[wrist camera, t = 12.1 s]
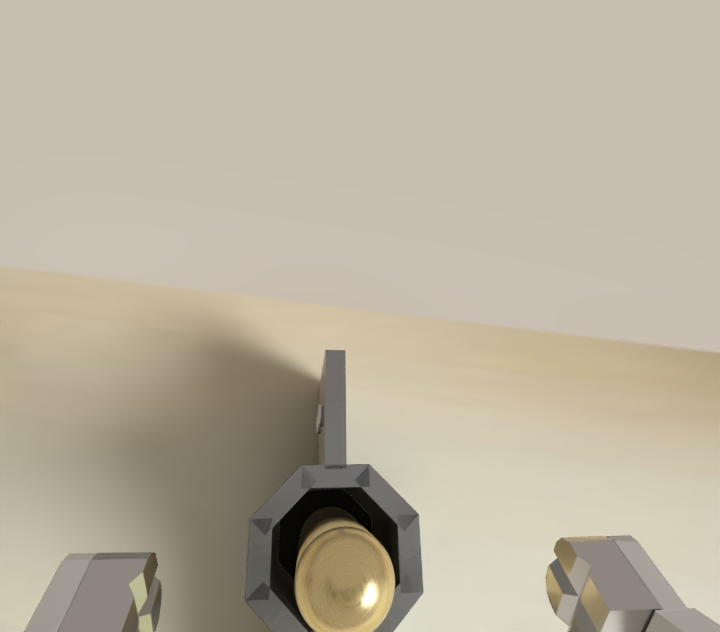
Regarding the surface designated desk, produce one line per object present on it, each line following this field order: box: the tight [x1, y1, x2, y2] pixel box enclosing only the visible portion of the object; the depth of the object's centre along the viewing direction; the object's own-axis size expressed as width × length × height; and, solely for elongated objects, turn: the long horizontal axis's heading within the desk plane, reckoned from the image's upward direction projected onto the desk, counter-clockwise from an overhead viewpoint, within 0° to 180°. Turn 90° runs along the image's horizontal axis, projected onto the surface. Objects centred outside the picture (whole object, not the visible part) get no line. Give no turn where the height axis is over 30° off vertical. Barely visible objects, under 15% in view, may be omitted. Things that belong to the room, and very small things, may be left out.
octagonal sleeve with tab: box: [245, 350, 423, 632], centre depth 20 cm, size 6×15×7 cm, turn 1°
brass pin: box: [294, 507, 395, 632], centre depth 18 cm, size 3×3×11 cm
